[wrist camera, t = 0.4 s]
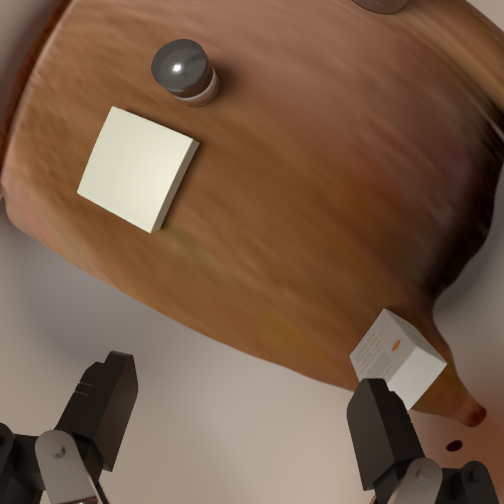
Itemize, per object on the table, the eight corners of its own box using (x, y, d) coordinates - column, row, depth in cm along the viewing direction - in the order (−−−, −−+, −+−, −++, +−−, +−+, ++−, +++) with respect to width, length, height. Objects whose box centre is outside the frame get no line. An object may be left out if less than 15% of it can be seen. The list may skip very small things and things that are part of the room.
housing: (189, 62, 30) (168, 33, 23) (227, 76, 31) (215, 47, 23) (168, 98, 32) (141, 78, 24) (206, 113, 32) (187, 94, 24)
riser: (124, 111, 32) (112, 106, 29) (199, 143, 32) (193, 139, 30) (90, 191, 34) (77, 192, 31) (159, 229, 35) (150, 233, 32)
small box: (378, 370, 37) (402, 419, 27) (347, 355, 37) (366, 406, 26) (413, 323, 35) (449, 364, 25) (383, 305, 35) (417, 346, 25)
